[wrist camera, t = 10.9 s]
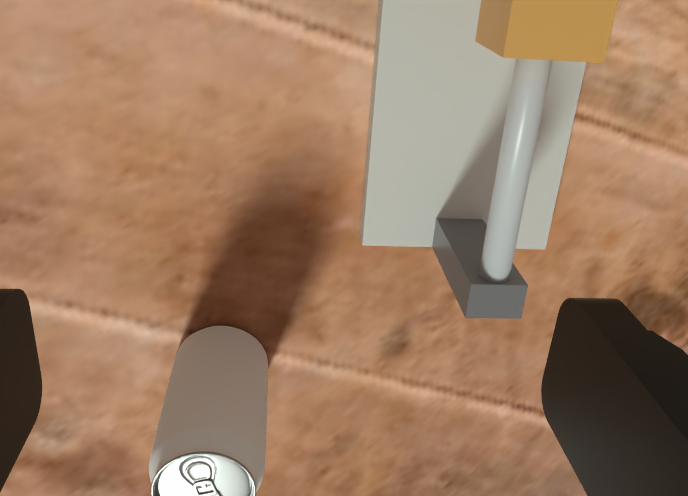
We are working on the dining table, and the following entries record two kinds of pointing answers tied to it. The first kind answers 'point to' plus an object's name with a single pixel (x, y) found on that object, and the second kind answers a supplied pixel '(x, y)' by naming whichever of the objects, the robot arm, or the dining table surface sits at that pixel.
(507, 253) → the cable stand
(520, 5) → the sleeve
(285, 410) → the dining table surface
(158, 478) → the can
